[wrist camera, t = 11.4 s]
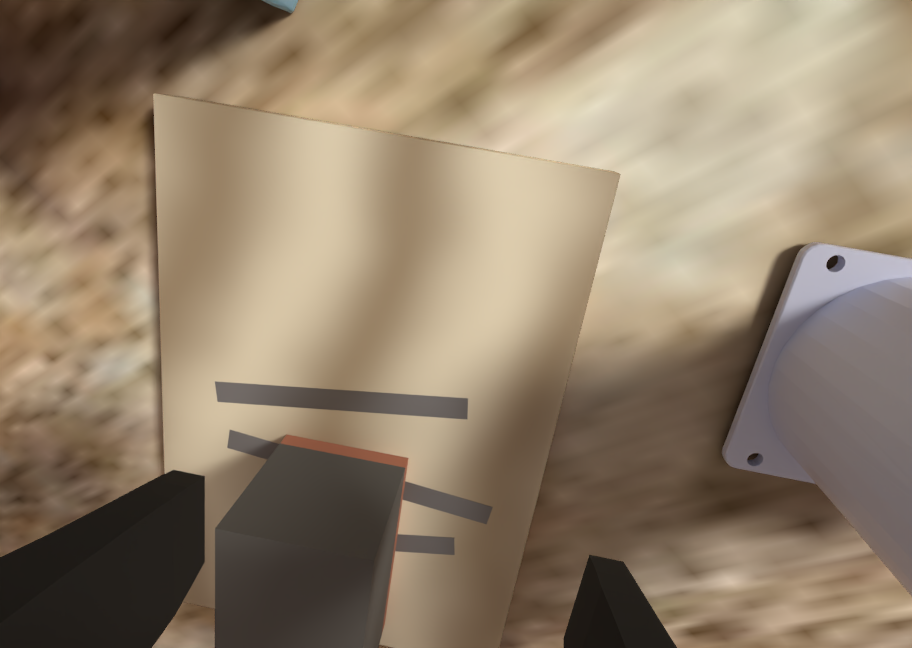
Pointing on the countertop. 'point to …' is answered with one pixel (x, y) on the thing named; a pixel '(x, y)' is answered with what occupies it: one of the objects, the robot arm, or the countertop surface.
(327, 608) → the block
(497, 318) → the board
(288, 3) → the gum box
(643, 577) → the countertop surface
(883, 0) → the countertop surface
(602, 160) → the countertop surface
